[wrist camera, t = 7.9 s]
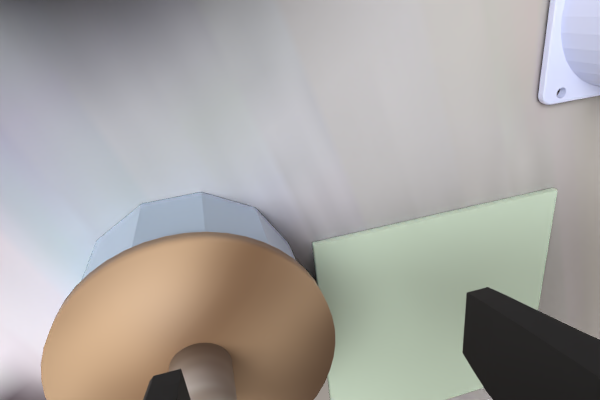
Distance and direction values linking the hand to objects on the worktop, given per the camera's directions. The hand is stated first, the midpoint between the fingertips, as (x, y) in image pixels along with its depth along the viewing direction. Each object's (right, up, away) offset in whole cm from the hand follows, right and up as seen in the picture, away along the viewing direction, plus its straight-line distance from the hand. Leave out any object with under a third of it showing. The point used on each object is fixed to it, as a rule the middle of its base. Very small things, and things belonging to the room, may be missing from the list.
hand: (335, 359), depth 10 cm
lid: (-5, -2, +7) cm, 9 cm away
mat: (+7, -3, +15) cm, 17 cm away
